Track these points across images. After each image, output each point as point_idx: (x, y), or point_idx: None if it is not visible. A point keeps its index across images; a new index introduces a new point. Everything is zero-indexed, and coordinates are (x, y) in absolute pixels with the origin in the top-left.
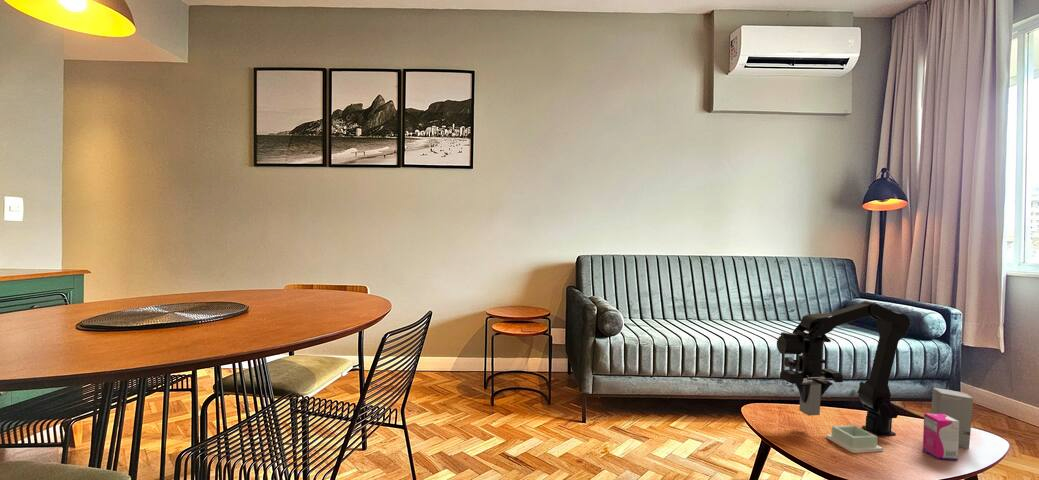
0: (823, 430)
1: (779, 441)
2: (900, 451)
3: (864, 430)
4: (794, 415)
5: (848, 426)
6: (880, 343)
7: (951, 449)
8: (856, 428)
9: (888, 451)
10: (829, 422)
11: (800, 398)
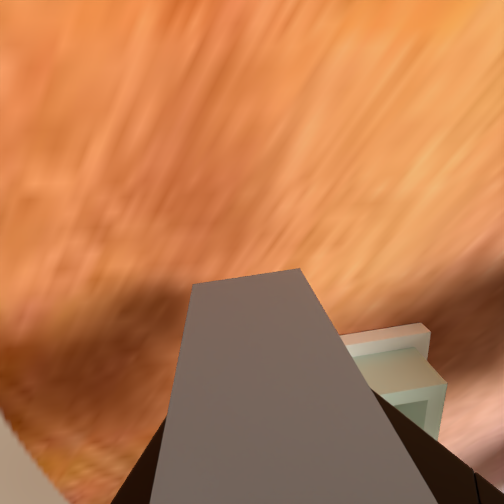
0: (319, 272)
1: (12, 395)
2: (472, 420)
3: (435, 431)
4: (292, 32)
5: (395, 401)
6: None
7: None
8: (423, 405)
9: None
10: (445, 163)
11: (179, 371)
